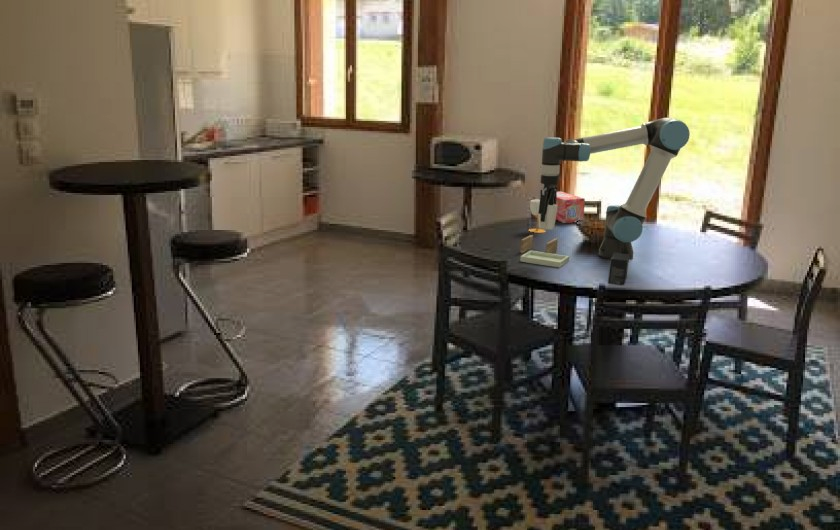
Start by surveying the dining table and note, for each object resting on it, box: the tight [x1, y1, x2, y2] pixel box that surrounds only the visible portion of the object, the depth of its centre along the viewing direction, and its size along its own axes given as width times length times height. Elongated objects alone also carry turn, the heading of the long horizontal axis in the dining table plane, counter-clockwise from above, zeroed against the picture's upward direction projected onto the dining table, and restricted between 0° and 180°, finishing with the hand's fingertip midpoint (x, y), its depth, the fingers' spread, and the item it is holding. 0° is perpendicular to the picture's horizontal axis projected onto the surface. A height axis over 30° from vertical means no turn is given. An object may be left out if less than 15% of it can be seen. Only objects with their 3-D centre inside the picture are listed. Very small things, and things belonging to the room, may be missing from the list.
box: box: [555, 191, 586, 224], centre depth 385 cm, size 27×13×14 cm, turn 18°
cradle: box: [520, 234, 559, 254], centre depth 313 cm, size 13×12×6 cm
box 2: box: [607, 252, 630, 286], centre depth 270 cm, size 11×7×10 cm, turn 158°
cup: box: [528, 198, 547, 234], centre depth 353 cm, size 9×9×16 cm
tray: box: [519, 249, 570, 268], centre depth 298 cm, size 18×12×2 cm, turn 60°
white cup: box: [538, 204, 557, 230], centre depth 294 cm, size 8×8×10 cm
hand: (546, 227), depth 295 cm, fingers closed on white cup, 8 cm apart
